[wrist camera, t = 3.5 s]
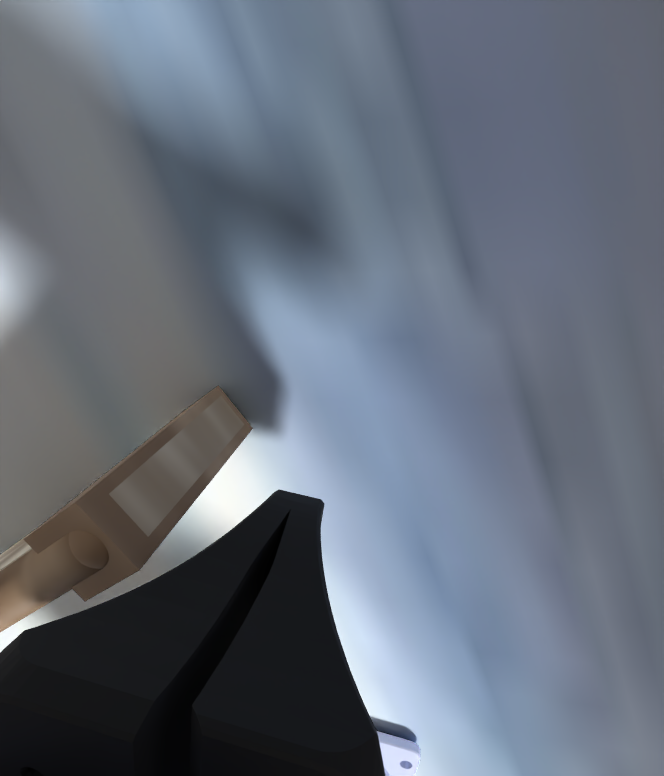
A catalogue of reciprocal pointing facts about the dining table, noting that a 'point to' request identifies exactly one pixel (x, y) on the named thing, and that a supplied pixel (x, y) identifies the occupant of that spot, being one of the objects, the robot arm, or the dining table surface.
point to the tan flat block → (121, 512)
